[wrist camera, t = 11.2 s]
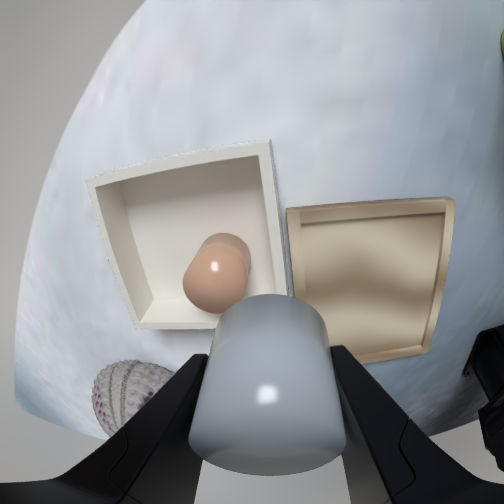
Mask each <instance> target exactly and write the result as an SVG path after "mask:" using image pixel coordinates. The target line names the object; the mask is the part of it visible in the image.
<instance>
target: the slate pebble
mask: <svg viewBox="0 0 504 504" xmlns="http://www.w3.org/2000/svg"><path fill="white" fill-rule="evenodd" d="M189 444H190V446H191V448H192V450H193V451H194V452H195V453H196V454H197V455H198V456H199V457H201V458H202V459H204V460H205V461H208V462H209V463H211V464H213V465H215V466H218V467H221V468H223V469H226V470H230V471H234V472H238V473H243V474H250V475H261V476H275V475H276V476H278V475H290V474H296V473H301V472H306V471H309V470H313V469H315V468H318V467H321V466H323V465H325V464H327V463H329V462H331V461H332V460H333V459H335V458H336V457H338V456H339V455H340V454H341V453H342V451H343V450H344V448H345V445H346V437H345V430H344V423H343V417H342V410H341V404H340V398H339V393H338V388H337V383H336V378H335V373H334V367H333V361H332V356H331V350H330V342H329V337H328V332H327V328H326V324H325V322H324V320H323V318H322V317H321V315H320V314H319V313H318V312H317V310H316V309H314V308H313V307H312V306H311V305H309V304H307V303H306V302H304V301H302V300H300V299H297V298H294V297H291V296H287V295H281V294H262V295H256V296H252V297H248V298H245V299H243V300H240V301H239V302H237V303H235V304H233V305H232V306H231V307H229V308H228V309H227V310H226V311H225V312H224V313H223V314H222V316H221V317H220V319H219V321H218V323H217V326H216V330H215V333H214V337H213V341H212V345H211V349H210V353H209V357H208V361H207V365H206V369H205V373H204V377H203V381H202V385H201V389H200V393H199V397H198V401H197V405H196V409H195V413H194V417H193V421H192V425H191V430H190V434H189Z"/></svg>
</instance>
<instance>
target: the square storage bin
mask: <svg viewBox="0 0 504 504" xmlns="http://www.w3.org/2000/svg"><path fill="white" fill-rule="evenodd" d="M86 184H87V188H88V192H89V196H90V200H91V204H92V207H93V211H94V215H95V218H96V222H97V225H98V228H99V232H100V235H101V238H102V241H103V244H104V247H105V250H106V253H107V256H108V259H109V262H110V265H111V268H112V271H113V274H114V276H115V279H116V282H117V284H118V287H119V290H120V292H121V295H122V297H123V300H124V302H125V305H126V307H127V310H128V312H129V315H130V317H131V319H132V322H133V324H134V326H135V329H216V326H217V323H218V321H219V319H220V317H221V316H222V314H223V313H209V312H206V311H203V310H201V309H199V308H197V307H196V306H195V305H193V304H192V303H191V302H190V301H189V299H188V298H187V297H186V295H185V293H184V290H183V283H182V282H183V276H184V274H185V272H186V270H187V268H188V267H189V265H190V263H191V262H192V260H193V258H194V257H195V255H196V253H197V252H198V250H199V249H200V247H201V245H202V244H203V242H204V241H205V240H206V239H207V238H208V237H210V236H211V235H214V234H217V233H229V234H233V235H235V236H237V237H239V238H240V239H242V240H243V241H244V242H245V243H246V245H247V246H248V248H249V250H250V253H251V263H250V268H249V273H248V277H247V282H246V286H245V291H244V295H243V299H245V298H248V297H252V296H256V295H262V294H281V295H287V296H289V286H288V276H287V266H286V257H285V247H284V238H283V230H282V221H281V213H280V204H279V196H278V188H277V180H276V173H275V165H274V158H273V150H272V143H271V139H263V140H255V141H248V142H241V143H234V144H228V145H222V146H216V147H210V148H204V149H199V150H194V151H188V152H183V153H178V154H174V155H169V156H164V157H160V158H156V159H151V160H147V161H143V162H139V163H135V164H131V165H127V166H123V167H119V168H116V169H112V170H110V171H107V172H104V173H102V174H99V175H97V176H94V177H92V178H89V179H86ZM243 299H242V300H243Z"/></svg>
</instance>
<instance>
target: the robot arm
mask: <svg viewBox="0 0 504 504" xmlns="http://www.w3.org/2000/svg"><path fill="white" fill-rule="evenodd" d="M330 350H331V356H332V361H333V367H334V373H335V378H336V383H337V388H338V393H339V398H340V404H341V410H342V417H343V423H344V430H345V437H346V445H345V448H344V450H343V451H342V453H341V454H342V459H343V463H344V469H345V474H346V479H347V484H348V489H349V494H350V500H351V504H504V484H498V483H493V482H489V481H485V480H482V479H480V478H478V477H476V476H474V475H473V474H471V473H470V472H469V471H467V470H466V469H465V468H464V467H462V466H461V465H460V464H459V463H458V462H456V461H455V460H454V459H453V458H451V457H450V456H449V455H448V454H447V453H445V452H444V451H443V450H442V449H441V448H439V447H438V446H437V445H436V444H435V443H434V442H433V441H432V440H430V439H429V438H428V437H427V436H426V434H425V433H424V432H423V431H422V430H421V429H420V428H419V427H418V426H417V425H416V424H415V423H414V422H413V421H412V419H409V416H408V415H407V414H406V413H405V412H404V411H403V410H402V409H401V407H400V406H399V405H398V404H397V403H396V402H395V401H394V400H393V399H392V398H391V396H390V395H389V394H388V393H387V392H386V391H385V390H384V389H383V388H382V387H381V385H380V384H379V383H378V382H377V381H376V380H375V379H374V378H373V377H372V376H371V374H370V373H369V372H368V371H367V370H366V369H365V368H364V367H363V366H362V365H361V364H360V362H359V361H358V360H357V359H356V358H355V357H354V356H353V355H352V354H351V353H350V351H349V350H348V349H347V348H346V347H345V346H344V345H334V346H330ZM208 357H209V356H208V355H207V354H194V355H193V356H192V357H191V358H190V359H189V360H188V361H187V362H186V363H185V364H184V365H183V366H182V367H181V368H180V369H179V370H178V371H177V372H176V373H175V374H174V375H173V376H172V377H171V378H170V379H169V380H168V381H167V382H166V383H165V384H164V385H163V386H162V387H161V388H160V389H159V390H158V391H157V392H156V393H155V394H154V395H153V396H152V397H151V398H150V399H149V400H148V401H147V402H146V403H145V404H144V405H143V406H142V407H141V408H140V409H139V410H138V411H137V412H136V413H135V414H134V415H133V416H132V417H131V418H130V419H129V420H128V421H127V422H126V423H125V424H124V426H122V427H121V428H120V429H119V430H118V431H117V432H116V433H115V434H114V435H113V436H112V437H110V438H109V439H108V440H107V441H106V442H105V443H104V444H103V445H101V446H100V447H99V448H98V449H96V450H95V451H94V452H93V453H91V454H90V455H89V456H87V457H86V458H85V459H84V460H82V461H81V462H80V463H78V464H77V465H76V466H74V467H73V468H71V469H70V470H69V471H67V472H66V473H64V474H62V475H61V476H58V477H56V478H53V479H49V480H40V481H29V482H13V483H0V504H194V500H195V495H196V490H197V484H198V480H199V476H200V471H201V465H202V461H203V459H202V458H201V457H199V456H198V455H197V454H196V453H195V452H194V451H193V450H192V448H191V446H190V444H189V434H190V430H191V425H192V421H193V417H194V413H195V409H196V405H197V401H198V397H199V393H200V389H201V385H202V381H203V377H204V373H205V369H206V365H207V361H208ZM463 374H464V376H465V377H466V376H469V375H472V374H476V376H477V378H478V380H479V382H480V384H481V386H482V388H483V390H484V392H485V394H486V396H487V398H488V400H489V402H488V403H487V404H486V405H485V406H484V407H483V408H480V409H479V410H478V414H479V421H480V424H481V430H482V434H483V439H484V444H485V448H486V449H487V450H489V451H490V453H491V454H492V455H493V456H495V458H496V462H497V466H498V468H499V469H500V470H502V471H503V472H504V325H501V326H498V327H495V328H491V329H488V330H484V331H482V332H481V333H480V334H479V335H478V338H477V341H476V343H475V346H474V348H473V351H472V353H471V356H470V358H469V360H468V363H467V365H466V367H465V370H464V372H463ZM408 419H409V420H408Z"/></svg>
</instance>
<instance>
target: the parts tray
mask: <svg viewBox="0 0 504 504" xmlns="http://www.w3.org/2000/svg"><path fill="white" fill-rule="evenodd" d="M454 213H455V200H454V199H452V198H450V197H429V198H409V199H392V200H376V201H362V202H349V203H336V204H324V205H313V206H302V207H292V208H286V214H287V223H288V232H289V242H290V251H291V262H292V272H293V283H294V295H295V298H297V299H300V300H302V301H304V302H306V303H307V304H309V305H311V306H312V307H313V308H314V309H316V310H317V312H318V313H319V314H320V315H321V317H322V318H323V320H324V322H325V324H326V328H327V332H328V337H329V342H330V346H334V345H344V346H345V347H346V348H347V349H348V350H349V351H350V353H351V354H352V355H353V356H354V357H355V358H356V359H357V360H358V361H359V362H360V364H366V363H373V362H379V361H386V360H391V359H397V358H403V357H408V356H413V355H418V354H423V353H428V350H429V347H430V344H431V340H432V337H433V333H434V329H435V325H436V322H437V318H438V314H439V309H440V305H441V300H442V296H443V291H444V286H445V281H446V275H447V270H448V263H449V257H450V250H451V242H452V234H453V224H454Z"/></svg>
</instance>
